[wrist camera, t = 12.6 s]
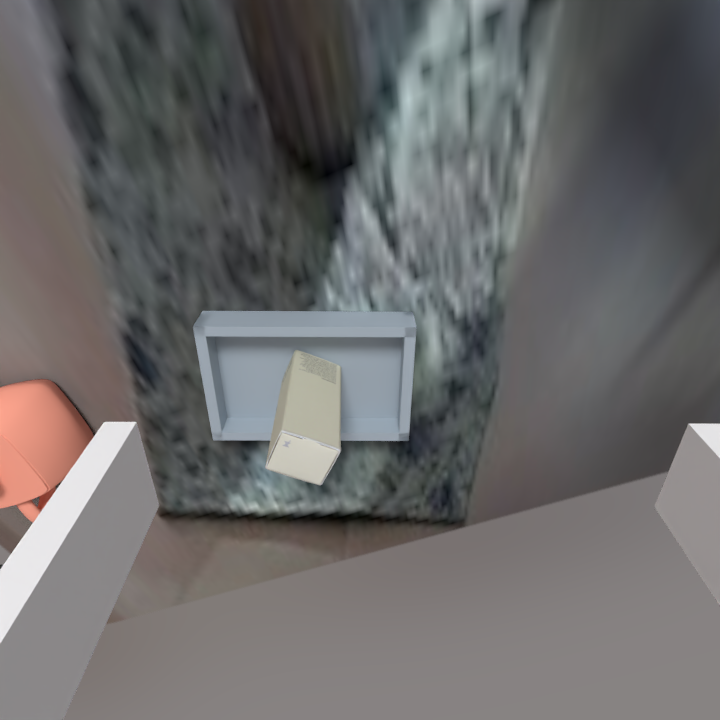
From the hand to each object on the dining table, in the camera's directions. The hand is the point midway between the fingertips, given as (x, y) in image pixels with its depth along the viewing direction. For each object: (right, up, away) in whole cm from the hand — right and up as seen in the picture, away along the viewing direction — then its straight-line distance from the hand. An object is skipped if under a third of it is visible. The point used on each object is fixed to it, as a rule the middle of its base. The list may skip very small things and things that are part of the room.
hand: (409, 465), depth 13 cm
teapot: (-36, -3, +42) cm, 56 cm away
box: (-6, +1, +39) cm, 39 cm away
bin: (-6, +2, +39) cm, 40 cm away
